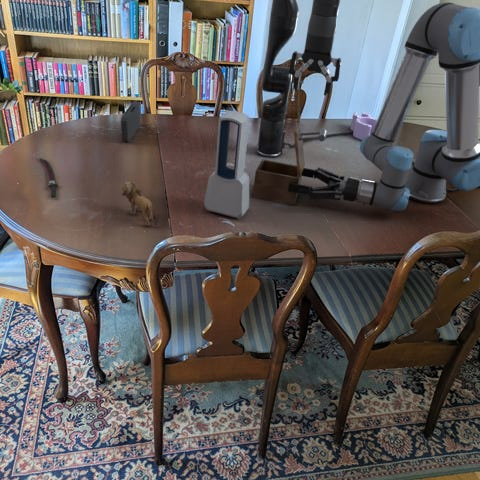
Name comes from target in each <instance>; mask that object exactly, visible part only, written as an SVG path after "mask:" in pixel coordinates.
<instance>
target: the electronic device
mask: <svg viewBox="0 0 480 480" xmlns="http://www.w3.org/2000/svg"><path fill="white" fill-rule="evenodd" d="M250 118H251V116H249V115H248V114H246V113H244V112H241V111H237V110H236V111H235V110H232V111H227V112H225V114H223V115H222V116H220V117H219V118H218V125H217V127H218V128H217V139H216V154H215V155H216V156H215V166H214V167H215V168H214V169H215V170H214V171H213V172H212V173H211V174H210V175H209V177H208V181H207V185H206V190H205V195H204V199H203V206H204V208H205V210H206V211H208V212H211V213H215V214H219V215H223V216H226V217H230V218H233V219H238V220H239V219H241V218H242V217H243V216H244V215H245V214H246V213H247V211H248V210H249V208H250V176H249V174H247V172H246V171H245V165H246V156H247V145H248V137H249V130H250V129H249V128H250ZM231 123H232V124H235V125H237V131H236V144H235V155H234V163H233V165H234V166H233V168H230V167H228V166H227V164H228V154H229V153H228V152H229V141H230V129H231Z"/></svg>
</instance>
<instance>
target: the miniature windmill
mask: <svg viewBox="0 0 480 480" xmlns="http://www.w3.org/2000/svg"><path fill="white" fill-rule="evenodd" d="M303 65H304V62H303V60H302V61H301V67H302V66H303ZM301 67H297V66H295V69H294V70H296V71H298V70H299V69H300V68H301ZM289 68H290V66H289ZM299 77H300V80H299V86H298V90H297V95H293V94H294V92H295V88H293V87H292V90H291V93H290V94H291V95H290V96H289V99H288V102H287V109H286V116H285V122H286V121H287V122H293V123H296V125H297V124H298V122H301V95H300V94H301V93H300V92H301V91H300V90H301V89H300V88H301V87H300V85H303V84H304V83H305V82H304V80H301V79H302V74H301V75H300V76H299ZM291 84H294V79H292V81H291ZM291 100H297V104H291ZM289 106H291V107H289ZM292 107H297V108H292ZM288 110H294V111H297V114H296V115H292V114H287V113H288ZM286 117H292V118H296V119H297V120H292V119H286Z"/></svg>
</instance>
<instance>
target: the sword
mask: <svg viewBox="0 0 480 480" xmlns="http://www.w3.org/2000/svg"><path fill="white" fill-rule="evenodd" d="M40 161H41V162H42V163H43V165H44V166H45V169H46V173H47V176H48V185H47V188H50V198H56V197H57V189H56V188H57V187H59V185H58V184H57V183H56V180H55V176H54V172H53V169H52V167H51V164H50V163H49V161H48V160H46V159H43V158H40Z"/></svg>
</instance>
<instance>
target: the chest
mask: <svg viewBox="0 0 480 480" xmlns="http://www.w3.org/2000/svg"><path fill="white" fill-rule="evenodd" d="M254 174H255V175H254V181H253V190H252V198H255V199H261V200H266V201H268V202H269V201H270V202H275V203H279V204H285V205H289V206H295V204H296V202H297V198H298V195H299V193H294V192H289V191H288V187H289V183H295V184H300V185H301V182H302V177H303V176H302V175H301V177H298V173H297V164H296V165H295V164H290V163H285V162H279V161H274V160H268V159H264V158H262V159H261V161H260V162H259V164H258V166H257V167H256V169H255V173H254Z"/></svg>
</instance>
